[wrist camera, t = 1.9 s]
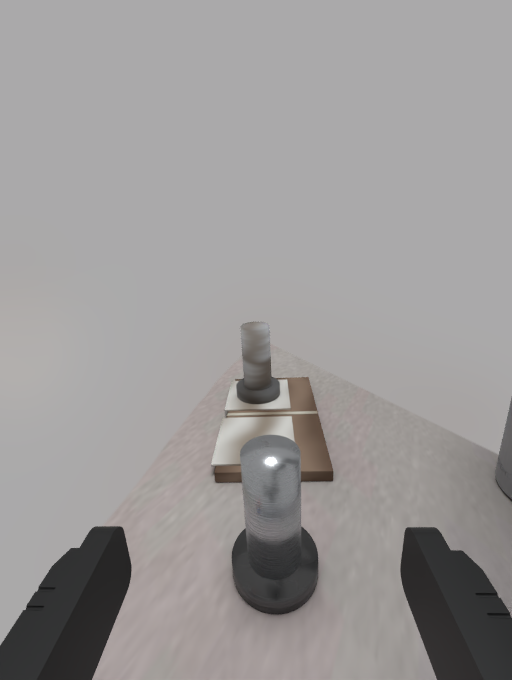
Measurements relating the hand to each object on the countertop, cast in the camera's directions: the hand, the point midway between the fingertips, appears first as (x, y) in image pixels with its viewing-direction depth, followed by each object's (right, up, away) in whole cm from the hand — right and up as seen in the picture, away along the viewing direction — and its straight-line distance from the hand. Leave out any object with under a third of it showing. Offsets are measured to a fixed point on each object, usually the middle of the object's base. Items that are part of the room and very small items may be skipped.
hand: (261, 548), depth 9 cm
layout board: (+2, -5, +35) cm, 35 cm away
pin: (+1, -11, +16) cm, 19 cm away
